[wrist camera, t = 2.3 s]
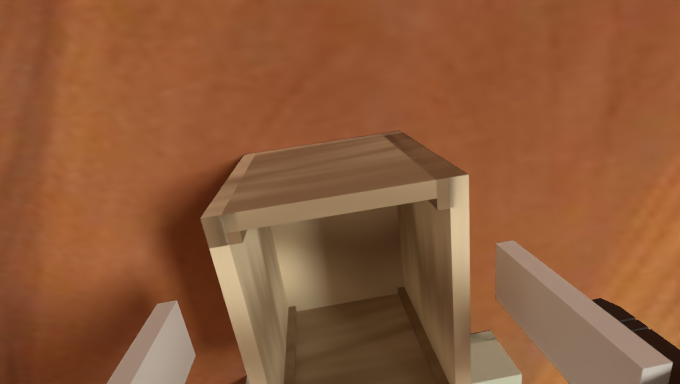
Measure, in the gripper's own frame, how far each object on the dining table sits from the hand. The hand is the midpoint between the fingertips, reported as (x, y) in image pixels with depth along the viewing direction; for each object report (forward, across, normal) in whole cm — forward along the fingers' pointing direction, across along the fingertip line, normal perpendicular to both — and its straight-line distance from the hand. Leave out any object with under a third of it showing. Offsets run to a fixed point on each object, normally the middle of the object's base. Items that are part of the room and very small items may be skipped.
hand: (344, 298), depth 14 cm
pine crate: (+6, 0, 0) cm, 6 cm away
